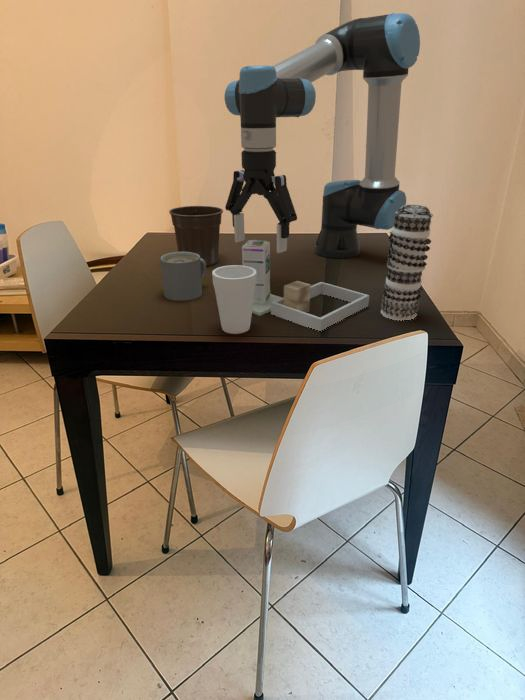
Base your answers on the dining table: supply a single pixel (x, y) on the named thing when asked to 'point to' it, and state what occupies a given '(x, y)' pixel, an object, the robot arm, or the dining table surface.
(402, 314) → the decorative candle
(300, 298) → the beech block
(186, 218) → the plant pot
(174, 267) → the coffee mug
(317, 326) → the parts bin
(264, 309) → the sage pad
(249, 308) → the foam cup
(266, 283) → the syrup box
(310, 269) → the dining table surface
